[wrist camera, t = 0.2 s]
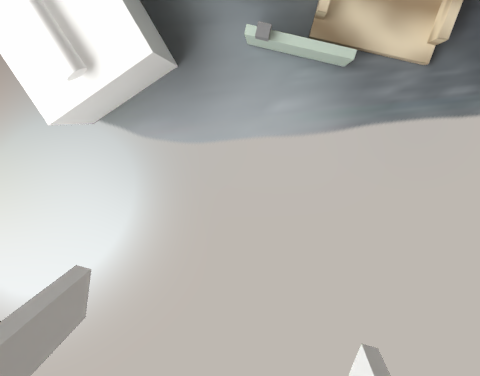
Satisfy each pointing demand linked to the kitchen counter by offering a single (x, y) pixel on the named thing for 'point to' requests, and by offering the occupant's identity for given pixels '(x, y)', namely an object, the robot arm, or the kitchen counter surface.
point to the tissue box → (81, 54)
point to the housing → (386, 26)
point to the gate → (298, 45)
